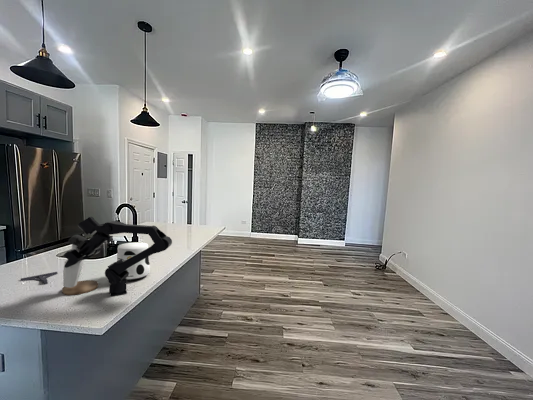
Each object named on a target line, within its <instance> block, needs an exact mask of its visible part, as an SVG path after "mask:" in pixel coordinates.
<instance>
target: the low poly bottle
mask: <svg viewBox="0 0 533 400" xmlns="http://www.w3.org/2000/svg"><path fill="white" fill-rule="evenodd" d="M77 247H78V246H76V245H73V244H71V250H76V251H77V252H78V250H80V249H78V248H77ZM67 261H68V259H67V260H65V261H64V266H65V264H66V262H67ZM83 263H84V262H83V260H81V262H79V263H77V264H75V265H72V266H70V267H67V268H65V267H64V266H63V270H62V273H63V276H62V277H63V281H62V286H63V287H68V288H70V287H74V286H76V285H77V282H78V281H79V278H80V276H81V272H82V269H83V268H82V267H83Z"/></svg>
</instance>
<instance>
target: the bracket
mask: <svg viewBox="0 0 533 400" xmlns="http://www.w3.org/2000/svg"><path fill="white" fill-rule="evenodd" d="M55 275H58V271H54V272H48V273H43V274H37V275H32V276H27V277H21V278H20V281H21V282H23V281H24V282H26V281H40V282H41V283H42V284H43V285H48V282H49V281H48V278H51V277H53V276H55Z"/></svg>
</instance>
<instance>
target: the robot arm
mask: <svg viewBox="0 0 533 400" xmlns="http://www.w3.org/2000/svg"><path fill="white" fill-rule="evenodd" d="M77 227H78V228H79V229H80V230H81V231H82V232H83V233H84V234H86V235H87V236H89V235H90V236H91V237H89V238H86V237H85V236H83V235H80V234H74V235H72V236H70V237H69V238H68V243H69V244H70V245H72V244H73V245H76V246H78V247H77V248H78V249H80V250H78V252H77V251H76V250H72V249H70V250H67V251H65V252H64V254H63V256H64V257H65V258H66V259H67V260H68V261H67V262H66V264H65V263H64V264H65V266H63V268H64V267H65V268H67V267H70V266H72V265H75V264H77V263H79V262H81V260H82V261H85V260H87V259H90V258H91V257H94V256H95V255H97V254H99V253H100V252H101V247H102V245H103V244H104V243H105V242H107V243H111V242H113V241H114V239H113V238H114V236H113V235H118V234H119V235H120V234H137V235H139V234H140V235H148V236H149V238H150V239H151V240H152V242H153V244H152V245H151V246H149V248H147V249H145V250H144V251H142V252H140V253H138V254H136V255H135V256H133V257H131V258H129V259H127V260H125V261H122V259H120V260H118V261H117V260H116V261H115V262H113V263H111V264H110V265H107V268H106V269H105V270H104V276H105V278H107V281H108V285H109V287H108V288H109V290H108V291H109V292H108V293H109V294H110V297H115V296H119V295H125V294H128V292H127V281H128V280H126V277H128V275H129V272H128V271H127V270H126V269H127V268H129V267H131V266H132V265H134V264H136V263H138V262H140V261H141V260H143V259H145V258H147V257H150V256H152V255H154V254H158V253H161V252H165V251H166V250H167V249H169V248H170V247H171V246H172V244H173V240H172V238H171V237H170V236H169V235H168V236H167V235H166V234H165V232H163V231H162V230H160V229H159V228H158V226H156V225H146V224H145V225H144V224H142V225H141V224H130V223H129V224H127V223H125V222H123V221H119V220H118V221H117V220H110V221H107V222H104V223H102V224H100V223H99V222H98V221H97V220H95V218H94V217H93V216H90V217H89V216H88V218H86V219H83V220H82V221H80V222H79V223H78V224H77Z"/></svg>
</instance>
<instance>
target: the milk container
mask: <svg viewBox="0 0 533 400" xmlns="http://www.w3.org/2000/svg"><path fill="white" fill-rule="evenodd" d="M149 247H150V246H149V244H148V243H147V242H139V241H138V242H137V241H136V242H125V243H120V244H119V245H117V250H116V262H117V261H118V260H120V259H122V261H125V260H127V259H129V258H131V257H133V256H135V255H136V254H138V253H140V252H142V251H144V250H145V249H147V248H149ZM149 257H150V256H149ZM149 257H147V258H145V259H143V260H141V261H140V262H138V263H136V264H134V265H132V266H131V267H129V268H127V269H126V270H127V271H128V272H129V275H128V277H126V280H127V281H134V280H139V279H143V278H144V277H147V276H148V275H149V274H150V271H151V270H150V269H151V263H150V260H149Z"/></svg>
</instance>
